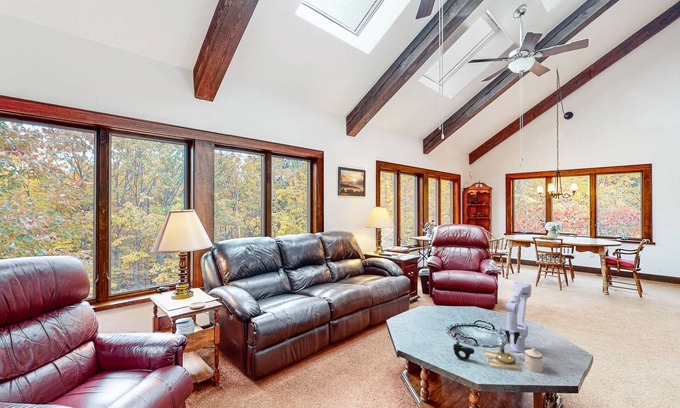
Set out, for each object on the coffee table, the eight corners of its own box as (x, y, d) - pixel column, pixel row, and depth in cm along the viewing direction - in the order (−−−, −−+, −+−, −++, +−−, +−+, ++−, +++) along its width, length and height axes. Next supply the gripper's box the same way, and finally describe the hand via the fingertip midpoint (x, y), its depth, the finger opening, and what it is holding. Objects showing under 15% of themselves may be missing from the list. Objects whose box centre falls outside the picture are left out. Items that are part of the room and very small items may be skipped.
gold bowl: (515, 364, 178) (515, 352, 178) (499, 362, 180) (499, 350, 180) (509, 353, 191) (509, 342, 190) (493, 352, 193) (493, 341, 193)
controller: (454, 355, 193) (454, 339, 193) (474, 361, 186) (474, 344, 186) (452, 358, 190) (452, 342, 189) (473, 364, 183) (473, 347, 182)
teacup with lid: (542, 367, 179) (542, 347, 179) (542, 374, 171) (542, 354, 171) (519, 361, 186) (519, 342, 185) (518, 368, 178) (518, 348, 178)
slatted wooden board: (483, 351, 197) (483, 349, 197) (510, 354, 193) (510, 352, 193) (490, 367, 179) (490, 364, 179) (520, 371, 175) (520, 368, 175)
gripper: (500, 322, 187) (500, 344, 188) (526, 325, 183) (526, 348, 183) (498, 318, 194) (498, 339, 194) (523, 321, 189) (523, 342, 190)
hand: (511, 343), depth 189 cm, fingers open, 3 cm apart
